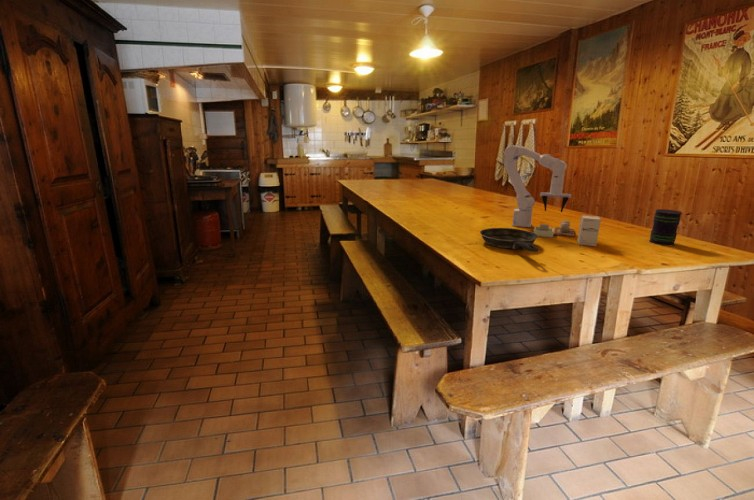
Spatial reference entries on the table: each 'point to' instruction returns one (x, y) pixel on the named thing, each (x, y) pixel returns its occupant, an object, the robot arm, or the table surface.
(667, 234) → the storage jar
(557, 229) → the shallow brown tray
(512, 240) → the frying pan
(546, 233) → the bin
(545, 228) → the stone front
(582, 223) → the supplement box
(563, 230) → the stone mid
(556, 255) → the table surface
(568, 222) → the stone back
